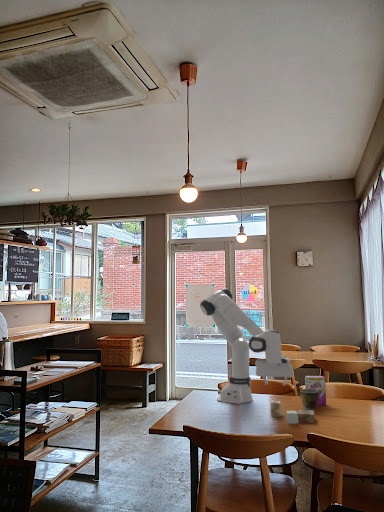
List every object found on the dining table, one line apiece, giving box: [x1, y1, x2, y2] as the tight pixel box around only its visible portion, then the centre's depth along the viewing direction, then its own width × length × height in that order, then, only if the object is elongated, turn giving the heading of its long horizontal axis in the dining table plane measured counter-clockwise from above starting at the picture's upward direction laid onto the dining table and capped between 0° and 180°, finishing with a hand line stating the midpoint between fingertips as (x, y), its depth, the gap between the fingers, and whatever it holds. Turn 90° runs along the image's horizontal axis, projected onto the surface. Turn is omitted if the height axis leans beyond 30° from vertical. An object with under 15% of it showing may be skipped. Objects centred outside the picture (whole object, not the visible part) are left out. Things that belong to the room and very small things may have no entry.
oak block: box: [270, 400, 282, 418], centre depth 209 cm, size 5×5×7 cm
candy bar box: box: [304, 375, 327, 407], centre depth 229 cm, size 11×5×16 cm, turn 84°
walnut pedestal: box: [297, 409, 316, 424], centre depth 200 cm, size 8×8×4 cm
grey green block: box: [285, 410, 299, 425], centre depth 197 cm, size 5×5×5 cm
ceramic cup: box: [299, 388, 318, 411], centre depth 220 cm, size 13×10×10 cm
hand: (275, 384), depth 211 cm, fingers open, 8 cm apart
